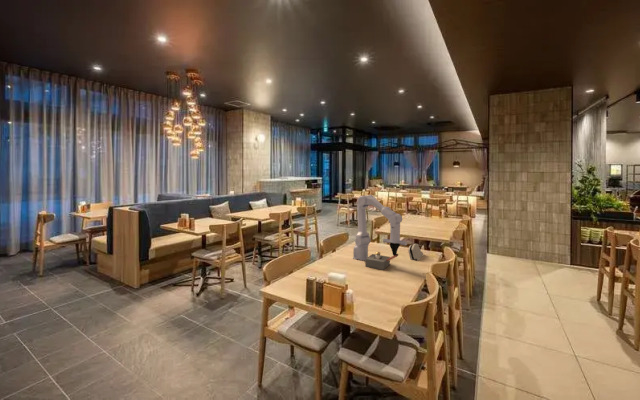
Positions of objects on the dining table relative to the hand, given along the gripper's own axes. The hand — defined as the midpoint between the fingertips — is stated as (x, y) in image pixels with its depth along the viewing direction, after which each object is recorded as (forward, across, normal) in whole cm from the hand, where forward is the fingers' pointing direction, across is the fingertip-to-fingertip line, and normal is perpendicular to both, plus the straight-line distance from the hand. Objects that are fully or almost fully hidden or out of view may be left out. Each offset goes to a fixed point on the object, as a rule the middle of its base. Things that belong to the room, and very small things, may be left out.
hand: (394, 255), depth 190 cm
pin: (+8, -11, 0) cm, 14 cm away
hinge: (+9, +5, +31) cm, 32 cm away
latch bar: (+2, -1, 0) cm, 2 cm away
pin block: (+8, -11, 0) cm, 14 cm away
